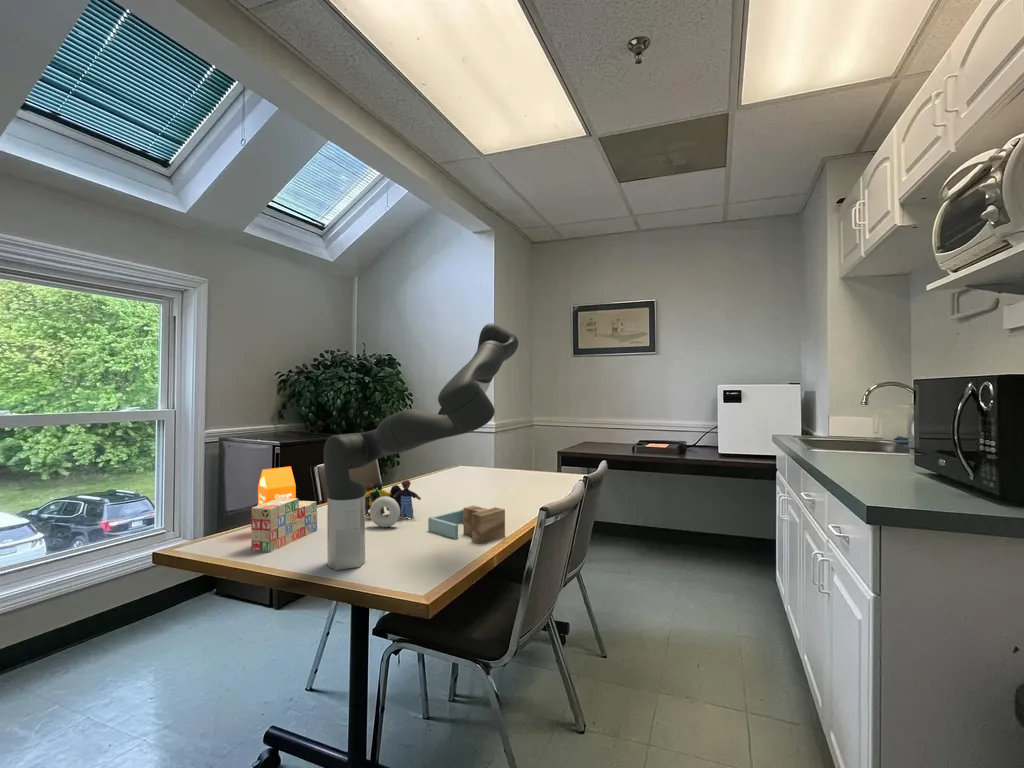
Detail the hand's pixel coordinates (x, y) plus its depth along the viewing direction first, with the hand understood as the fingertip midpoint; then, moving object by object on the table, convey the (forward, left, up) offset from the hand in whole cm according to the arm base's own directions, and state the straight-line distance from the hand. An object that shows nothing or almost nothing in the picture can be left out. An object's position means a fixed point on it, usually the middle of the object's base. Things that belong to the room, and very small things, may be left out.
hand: (451, 428), depth 146 cm
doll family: (+33, +13, -33) cm, 49 cm away
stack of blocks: (+19, +45, -33) cm, 59 cm away
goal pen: (+8, -5, -33) cm, 34 cm away
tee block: (0, -9, -33) cm, 34 cm away
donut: (+21, +16, -33) cm, 42 cm away
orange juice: (+30, +48, -33) cm, 66 cm away
